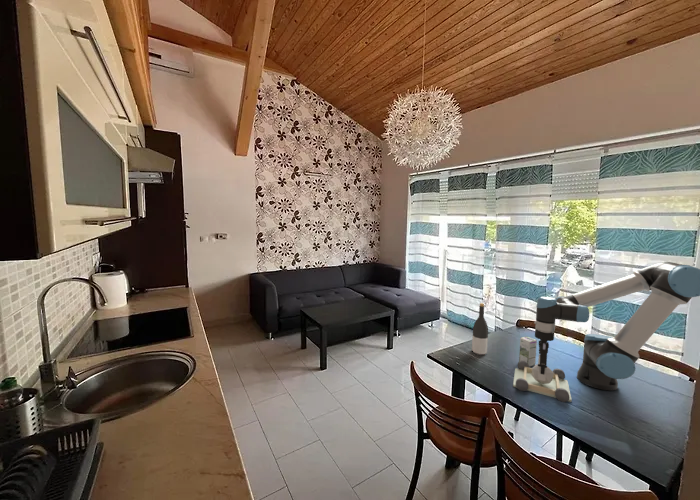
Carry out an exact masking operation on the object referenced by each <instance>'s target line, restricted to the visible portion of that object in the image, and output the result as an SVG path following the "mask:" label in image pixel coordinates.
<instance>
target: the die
mask: <svg viewBox="0 0 700 500" xmlns="http://www.w3.org/2000/svg"><path fill="white" fill-rule="evenodd" d="M531 368H532V373H531V375H532V376H533V377H534V379H535V380H536V381H538V382H539V383H541V384H549V383H550V382H551V381H552V380H553V375H554V372H553V370H552V369H551V368H550V367H549V366H547V368H546V379H545V381H542V380H538V375H539V366H538V363H537V364H535V365H533V367H531Z"/></svg>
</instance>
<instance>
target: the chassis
mask: <svg viewBox="0 0 700 500" xmlns="http://www.w3.org/2000/svg"><path fill="white" fill-rule="evenodd" d="M532 368H533V367H530V366H529V364H528V363H527V362H525V361H520V362H519V361H518V363H517V367H515V368H514V369H515V370H514V375H513V376H514V377H513V383H512V387H513V388H516V389H517V390H519V391H520V392H526V391H527V392H528V391H529V392H532V393H536V394H539V395H544V396H546V397H551V398H553V399H557V400H558V401H559V402H561V403H565V402H570V403H572V401H573V400H572V396H571V395H572V394H571V391H570V386H569V381H568V380H567V379H566V374H565V372H564V370H562V369H561V368H554V369H553V370H552V371H553V372H554V375H553V380H552V381H551V382H550V383H549V384H541V383H539V382H538V381H536V380H535V379H534V377H533V376H532V375H531V373H532Z"/></svg>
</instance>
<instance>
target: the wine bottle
mask: <svg viewBox="0 0 700 500" xmlns="http://www.w3.org/2000/svg"><path fill="white" fill-rule="evenodd" d="M478 310H479V313H478V316H477V319H476V320H475V322H474V324H473V327H472V345H471V352H472V351H473V352H474V353H475V354H474V353H473V352H472V353H473V354H474V355H477V354H478V356H486V355H487V354H488V340H489V327H488V323H487V321H486V319H485V315H484V313H485V303H483V302H480V303H479V309H478ZM485 354H486V355H485Z"/></svg>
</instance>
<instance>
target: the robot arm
mask: <svg viewBox="0 0 700 500" xmlns="http://www.w3.org/2000/svg"><path fill="white" fill-rule="evenodd" d="M641 291H645V292H650V291H651V292H650V293H649V295H648V296H647V298H645V300H644V301H643V302H642V304H641V305H640V306H639V307H638V309H636V310H635V312H634V313H633V314H632V316H631V317H630V318H629V319H628V320H627V322H626V323H625V324H624V325H623V327H621V329H620V330H619V331H618V332H617V334H616V335H615V336H614V337H612V336H608V335H604V334H597V333H587V334H585V336H584V339H583V341H584V342H583V356H582V363H581V364H580V367H579V368H578V370H577V372H576V373H577V374H576V378H577V380H579V382H581V383H583V384H585V385H586V386H590V387H592V388H595V389H597V390H602V391H616V390H618V387H619V384H618V383H619V382H618V380H625V379H629V378H631V377H632V376H634V374H635V372H636V364H635V363H636V362H637V361H638V360H639V359H640V354H639V351H640V350H641V349H642V347H643V346H644V345H645V344H646V343H647V342H648V341H649V339H650V338H652V336H653V335H654V333H656V331H657V330H658V329H659V328H660V327H661V326H662V324H663V323H664V322H665V321H666V320H667V319H668V317H669V316H670V315H671V314H672V313H673V312H674V311H675V309H676V308H677V307H679V306H680V305H686V304H688V303H689V302H690V301H691V299H692V298H696V297H700V268H698V267H695V266H693V265H689V264H681V263H677V262H670V261H669V262H668V261H666V262H658V263H655V264H652V265H650V266H646V267H644V268H641V269H638V270H635V271H633V272H632V274H630V275H627V276H625V277H621V278H618V279H616V280H612V281H609V282H606V283H603V284H599V285H597V286H594V287H591V288H589V289H586V290H582V291H579V292H577V293H573V294H571V295H567V296H563V295H562V296H557V297H556V298H554V297H550V296H540V297H538V298H537V301H536V302H537V303H536V313H535V316H536V317H535V321H534V322H533V324H535V330H534V337H535V338H536V339H538V358H537V359H538V360H537V361H538V363H537V364H538V366H539V375H538V380H542V381H545V379H546V368H547V367H548V366H547V363H548V353H549V348H550V344H549V343H550V342H552V341H554V339H555V329H556V320H559V321H561V320H562V321H568V322H575V323H588V321H589V319H590V309H589V308H590V307H593V306H596V305H599V304H603V303H606V302H608V301H612V300H616V299H619V298H622V297H626V296H628V295H631V294H632V295H633V294H634V293H638V292H641Z"/></svg>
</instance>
